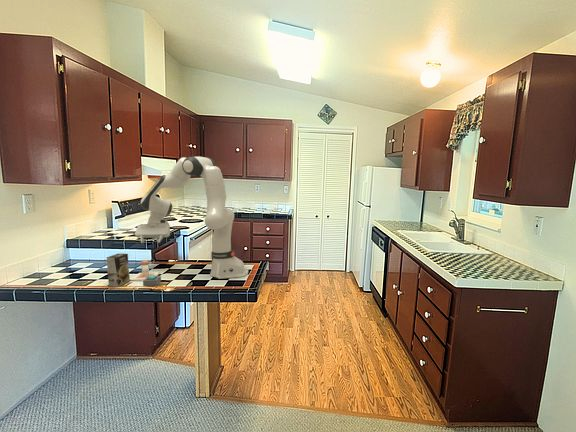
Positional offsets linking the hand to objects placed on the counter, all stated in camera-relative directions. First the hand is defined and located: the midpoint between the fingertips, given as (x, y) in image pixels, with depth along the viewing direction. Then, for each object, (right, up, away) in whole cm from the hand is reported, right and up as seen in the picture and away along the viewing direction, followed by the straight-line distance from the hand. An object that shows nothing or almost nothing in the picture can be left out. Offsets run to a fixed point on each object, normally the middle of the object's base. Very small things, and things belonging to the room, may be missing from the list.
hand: (150, 242), depth 190 cm
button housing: (+9, -21, -18) cm, 29 cm away
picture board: (+1, -19, -8) cm, 21 cm away
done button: (+9, -19, -18) cm, 28 cm away
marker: (+1, -19, -8) cm, 20 cm away
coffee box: (-9, -21, -18) cm, 29 cm away
